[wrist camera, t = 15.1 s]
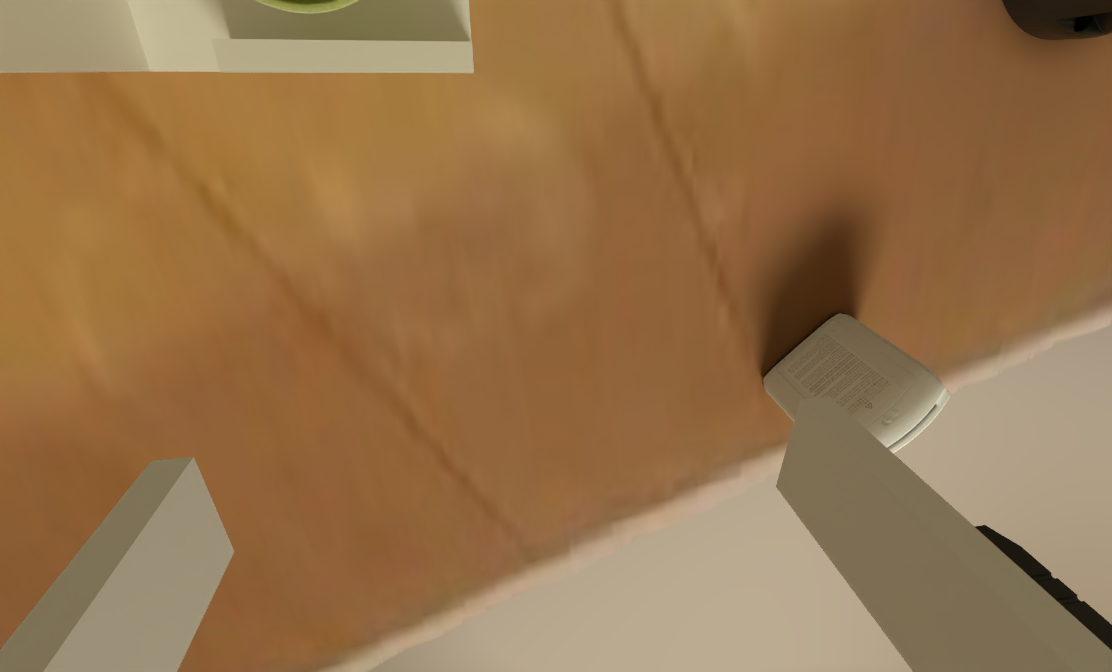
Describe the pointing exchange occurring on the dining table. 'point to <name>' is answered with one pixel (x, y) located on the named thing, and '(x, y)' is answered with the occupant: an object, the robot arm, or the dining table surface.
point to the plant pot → (308, 5)
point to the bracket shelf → (234, 37)
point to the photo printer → (860, 381)
